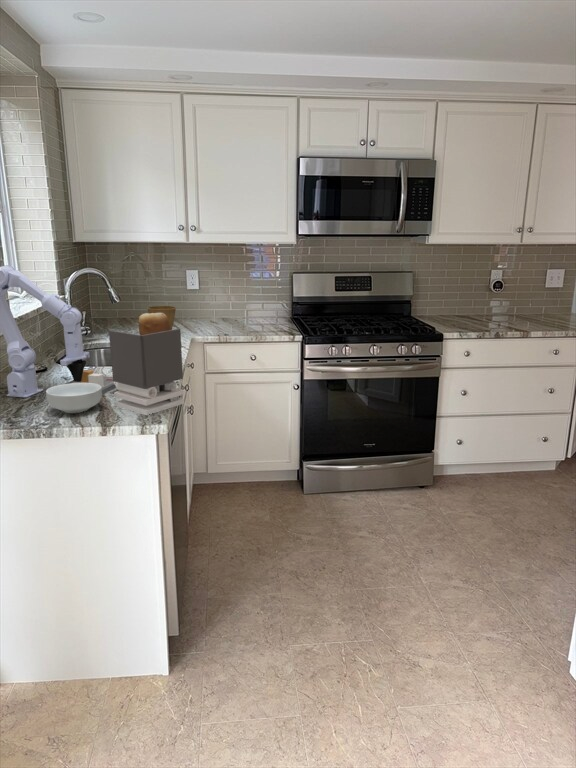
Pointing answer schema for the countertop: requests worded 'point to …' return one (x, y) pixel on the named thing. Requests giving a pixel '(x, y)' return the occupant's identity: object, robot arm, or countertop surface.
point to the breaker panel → (101, 382)
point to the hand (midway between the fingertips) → (77, 381)
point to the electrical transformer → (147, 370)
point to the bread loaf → (153, 323)
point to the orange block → (86, 376)
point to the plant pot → (164, 312)
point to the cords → (110, 391)
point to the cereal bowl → (74, 396)
